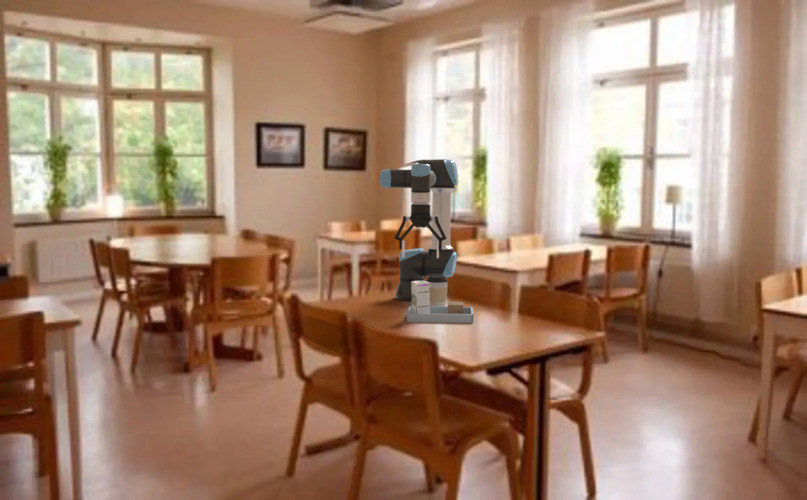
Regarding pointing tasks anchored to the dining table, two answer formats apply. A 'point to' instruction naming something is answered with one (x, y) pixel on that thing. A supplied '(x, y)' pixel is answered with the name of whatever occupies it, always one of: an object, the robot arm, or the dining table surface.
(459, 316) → the tray
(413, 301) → the syrup box
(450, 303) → the walnut block
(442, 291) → the coffee cup
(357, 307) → the dining table surface
